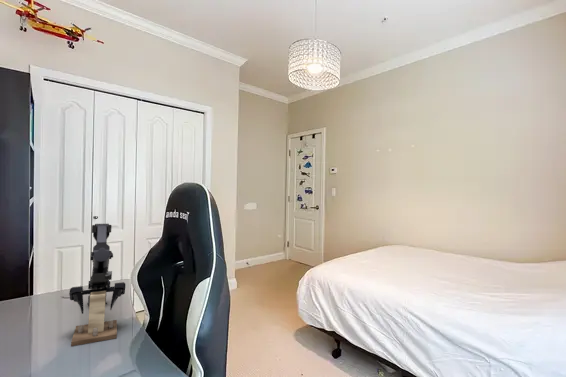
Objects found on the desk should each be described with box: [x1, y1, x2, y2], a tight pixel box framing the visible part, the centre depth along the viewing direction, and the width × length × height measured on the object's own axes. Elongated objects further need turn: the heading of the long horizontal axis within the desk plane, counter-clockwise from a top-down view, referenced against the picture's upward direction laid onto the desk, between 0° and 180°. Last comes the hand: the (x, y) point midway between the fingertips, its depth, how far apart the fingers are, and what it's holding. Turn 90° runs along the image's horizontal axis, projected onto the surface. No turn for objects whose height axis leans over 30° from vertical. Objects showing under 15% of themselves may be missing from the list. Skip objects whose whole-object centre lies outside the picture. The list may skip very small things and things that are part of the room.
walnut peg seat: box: [70, 319, 118, 347], centre depth 113 cm, size 14×14×4 cm
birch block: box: [87, 291, 107, 334], centre depth 113 cm, size 5×5×14 cm
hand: (96, 311), depth 112 cm, fingers open, 9 cm apart
